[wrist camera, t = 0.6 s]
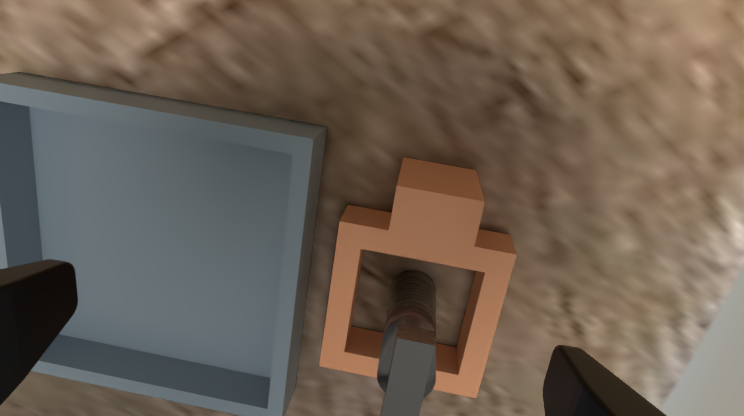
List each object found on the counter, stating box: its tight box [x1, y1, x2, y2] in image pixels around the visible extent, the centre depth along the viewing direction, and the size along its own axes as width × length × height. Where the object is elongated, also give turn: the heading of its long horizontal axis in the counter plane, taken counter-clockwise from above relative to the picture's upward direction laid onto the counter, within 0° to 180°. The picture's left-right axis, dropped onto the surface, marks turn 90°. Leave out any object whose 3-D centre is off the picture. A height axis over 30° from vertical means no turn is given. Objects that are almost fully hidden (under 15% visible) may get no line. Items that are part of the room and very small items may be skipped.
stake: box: [377, 271, 436, 416], centre depth 19 cm, size 4×2×7 cm, turn 171°
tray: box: [0, 72, 327, 416], centre depth 22 cm, size 13×13×2 cm
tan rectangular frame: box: [319, 157, 517, 398], centre depth 20 cm, size 10×7×4 cm
